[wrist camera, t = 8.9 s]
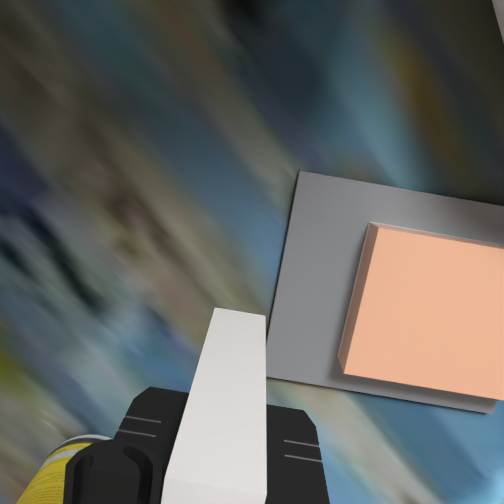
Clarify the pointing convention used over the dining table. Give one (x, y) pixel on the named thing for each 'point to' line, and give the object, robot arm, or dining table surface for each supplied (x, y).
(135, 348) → the dining table surface
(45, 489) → the pill bottle
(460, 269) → the tile
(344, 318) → the mat
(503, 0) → the white garlic bulb
